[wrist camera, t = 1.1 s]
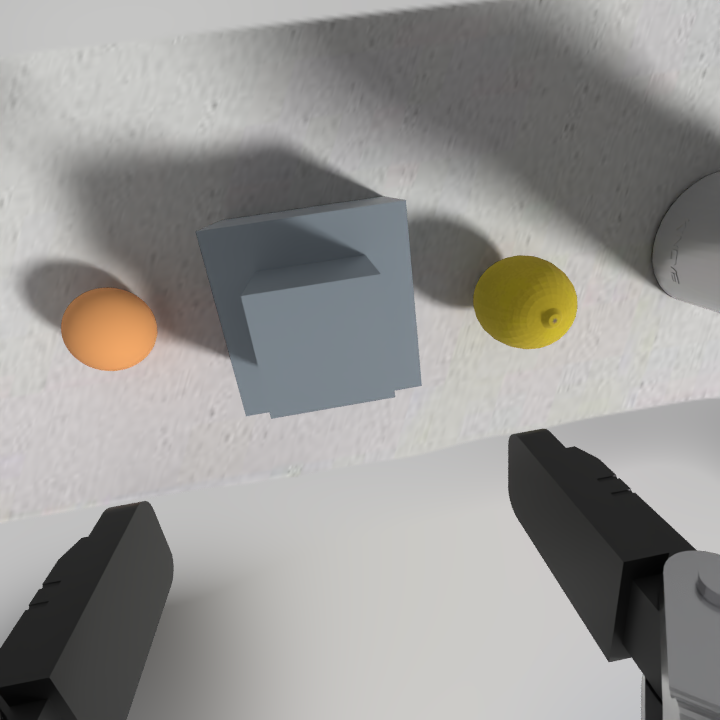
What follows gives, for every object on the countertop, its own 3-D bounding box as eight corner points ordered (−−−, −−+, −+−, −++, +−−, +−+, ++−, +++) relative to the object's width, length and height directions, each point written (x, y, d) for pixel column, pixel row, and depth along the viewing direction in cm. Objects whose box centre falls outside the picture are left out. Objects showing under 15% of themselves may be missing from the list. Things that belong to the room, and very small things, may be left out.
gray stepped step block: (383, 196, 27) (433, 204, 16) (398, 345, 31) (447, 431, 20) (221, 220, 27) (163, 245, 16) (258, 368, 31) (232, 469, 20)
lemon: (464, 245, 29) (518, 266, 22) (541, 250, 30) (618, 272, 22) (451, 323, 31) (496, 367, 24) (523, 326, 32) (589, 369, 24)
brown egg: (153, 274, 27) (122, 292, 23) (176, 346, 29) (153, 376, 25) (73, 286, 27) (26, 307, 23) (102, 358, 29) (64, 391, 25)
